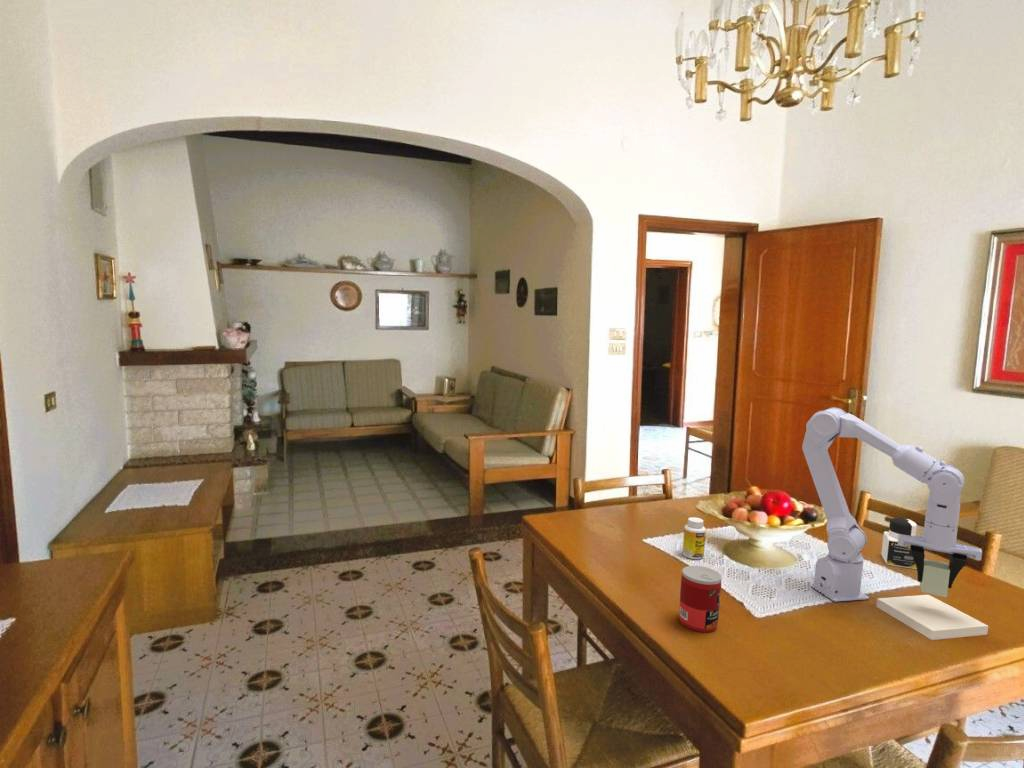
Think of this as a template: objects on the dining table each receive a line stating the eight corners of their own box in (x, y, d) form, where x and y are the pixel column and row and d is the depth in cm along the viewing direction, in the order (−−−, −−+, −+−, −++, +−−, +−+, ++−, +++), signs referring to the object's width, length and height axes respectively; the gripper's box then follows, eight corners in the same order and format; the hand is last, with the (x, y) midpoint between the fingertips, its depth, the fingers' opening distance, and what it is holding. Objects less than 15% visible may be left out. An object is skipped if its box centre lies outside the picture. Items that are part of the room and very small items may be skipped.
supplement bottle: (694, 561, 155) (697, 524, 154) (678, 554, 160) (680, 518, 159) (708, 557, 158) (711, 521, 157) (691, 550, 163) (694, 514, 162)
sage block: (946, 597, 125) (950, 570, 124) (921, 591, 127) (924, 565, 126) (944, 589, 129) (947, 563, 128) (919, 584, 131) (922, 558, 130)
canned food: (712, 637, 118) (717, 585, 117) (673, 625, 122) (677, 574, 121) (721, 621, 125) (725, 571, 123) (684, 610, 129) (687, 562, 128)
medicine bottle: (886, 565, 158) (891, 521, 156) (880, 555, 164) (885, 513, 163) (917, 570, 155) (922, 526, 154) (910, 560, 162) (915, 517, 160)
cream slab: (931, 642, 120) (933, 630, 120) (876, 608, 134) (877, 598, 133) (986, 637, 123) (988, 625, 123) (927, 604, 137) (928, 594, 136)
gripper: (981, 524, 126) (973, 585, 127) (900, 511, 133) (893, 568, 135) (986, 534, 120) (978, 597, 121) (901, 519, 127) (894, 579, 129)
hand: (934, 583), depth 127 cm, fingers closed on sage block, 4 cm apart
